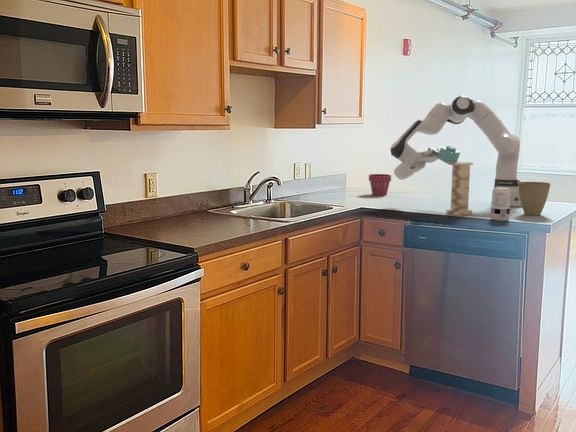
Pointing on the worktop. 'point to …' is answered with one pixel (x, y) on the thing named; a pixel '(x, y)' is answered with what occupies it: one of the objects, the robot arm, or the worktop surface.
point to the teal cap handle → (446, 154)
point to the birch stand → (460, 189)
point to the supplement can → (501, 203)
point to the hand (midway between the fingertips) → (435, 150)
